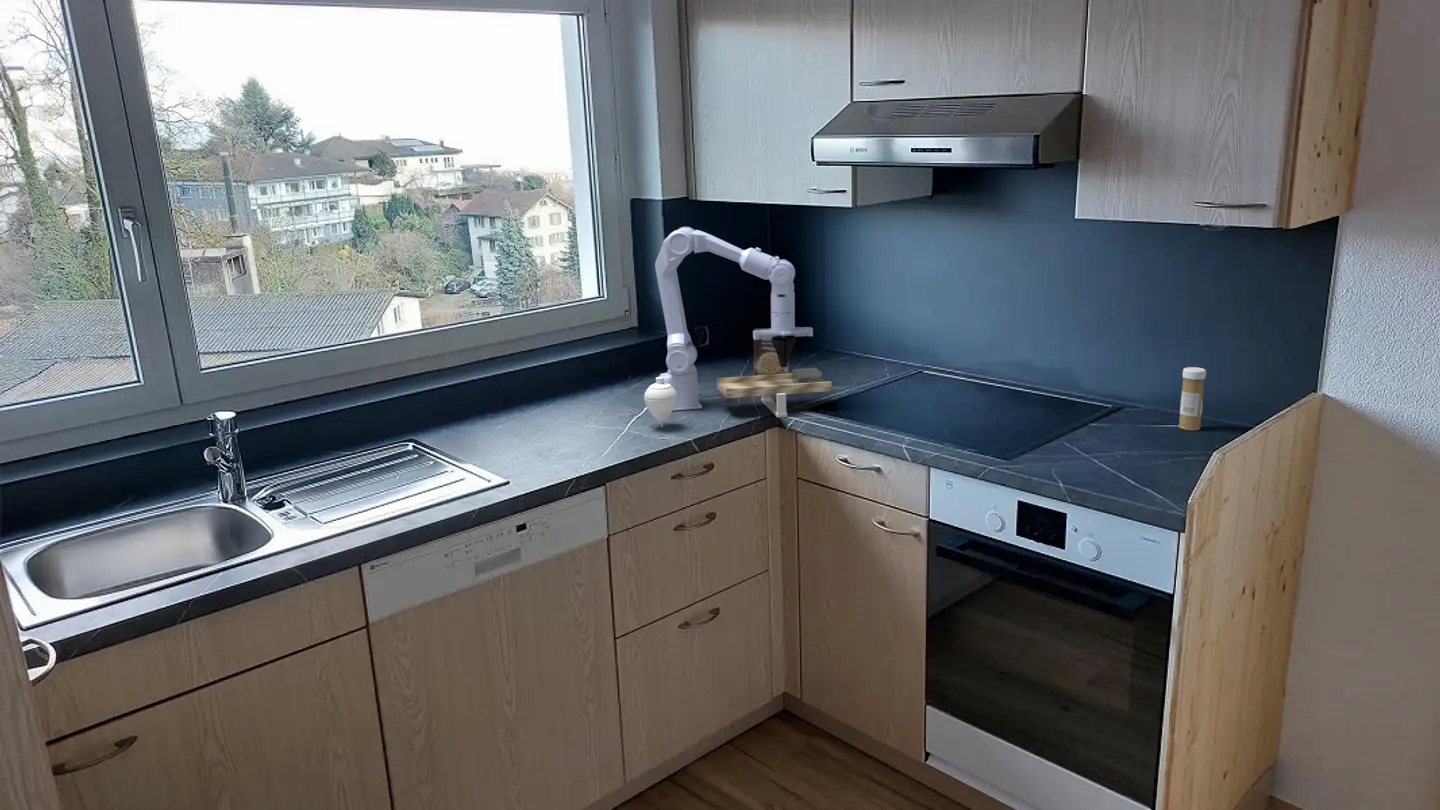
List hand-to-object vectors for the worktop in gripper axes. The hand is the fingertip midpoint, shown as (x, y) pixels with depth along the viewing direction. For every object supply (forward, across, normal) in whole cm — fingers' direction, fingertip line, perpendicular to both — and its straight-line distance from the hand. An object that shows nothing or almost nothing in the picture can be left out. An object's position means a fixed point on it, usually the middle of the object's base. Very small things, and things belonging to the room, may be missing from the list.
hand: (783, 366), depth 247 cm
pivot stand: (+10, -3, 0) cm, 11 cm away
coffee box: (+11, +1, +18) cm, 21 cm away
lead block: (+4, +6, 0) cm, 7 cm away
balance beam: (+7, -3, 0) cm, 8 cm away
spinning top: (+11, -32, -8) cm, 34 cm away
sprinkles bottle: (+10, +80, -44) cm, 92 cm away
